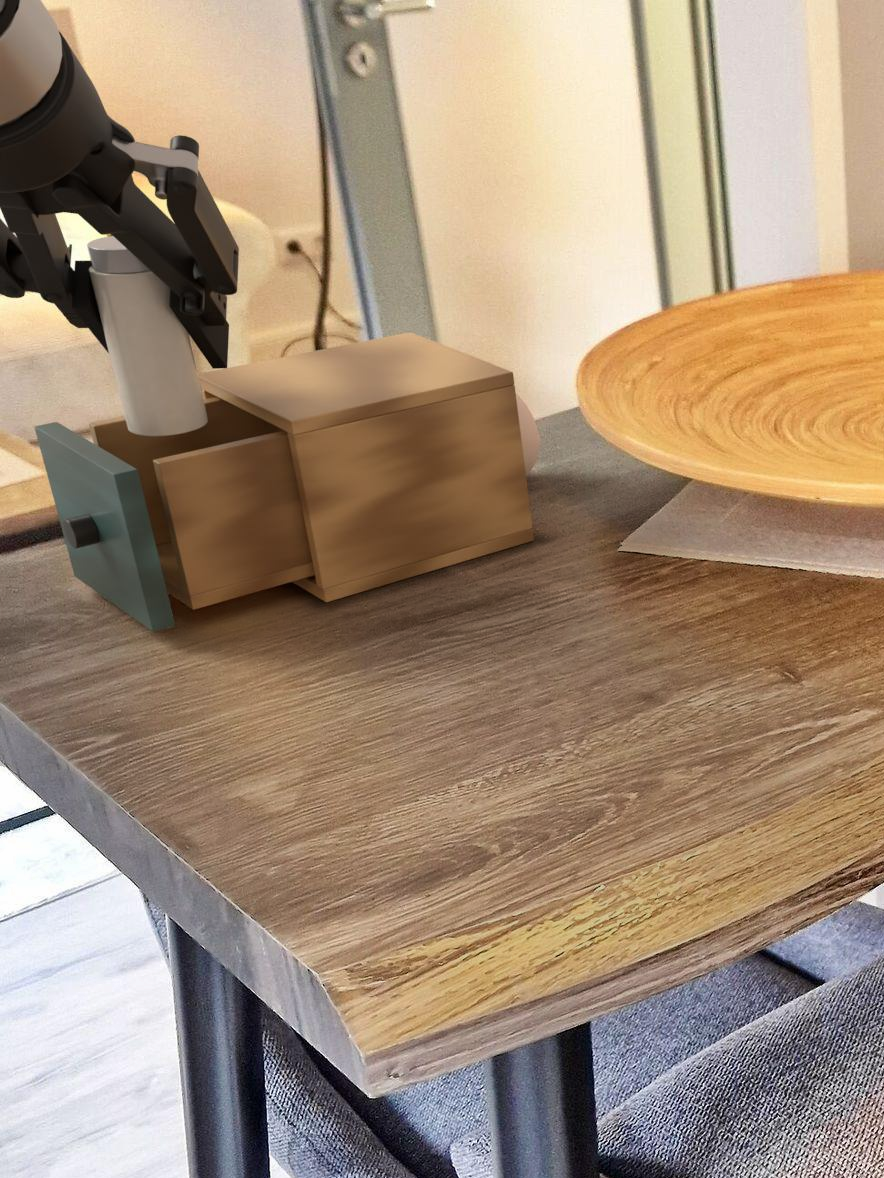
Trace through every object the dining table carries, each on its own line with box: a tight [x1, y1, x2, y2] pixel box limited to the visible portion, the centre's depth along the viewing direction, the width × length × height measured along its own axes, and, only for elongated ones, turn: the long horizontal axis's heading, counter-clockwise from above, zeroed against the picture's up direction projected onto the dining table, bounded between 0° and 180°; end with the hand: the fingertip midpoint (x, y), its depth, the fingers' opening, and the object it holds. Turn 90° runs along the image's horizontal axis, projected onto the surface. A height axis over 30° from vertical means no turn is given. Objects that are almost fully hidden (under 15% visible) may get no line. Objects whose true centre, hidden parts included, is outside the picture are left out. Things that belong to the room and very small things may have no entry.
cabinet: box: [198, 331, 535, 603], centre depth 101 cm, size 14×12×11 cm
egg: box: [516, 393, 540, 477], centre depth 112 cm, size 5×5×7 cm
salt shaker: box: [86, 235, 208, 436], centre depth 90 cm, size 4×4×10 cm
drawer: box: [33, 397, 315, 633], centre depth 95 cm, size 14×10×9 cm
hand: (175, 346), depth 94 cm, fingers closed on salt shaker, 4 cm apart
